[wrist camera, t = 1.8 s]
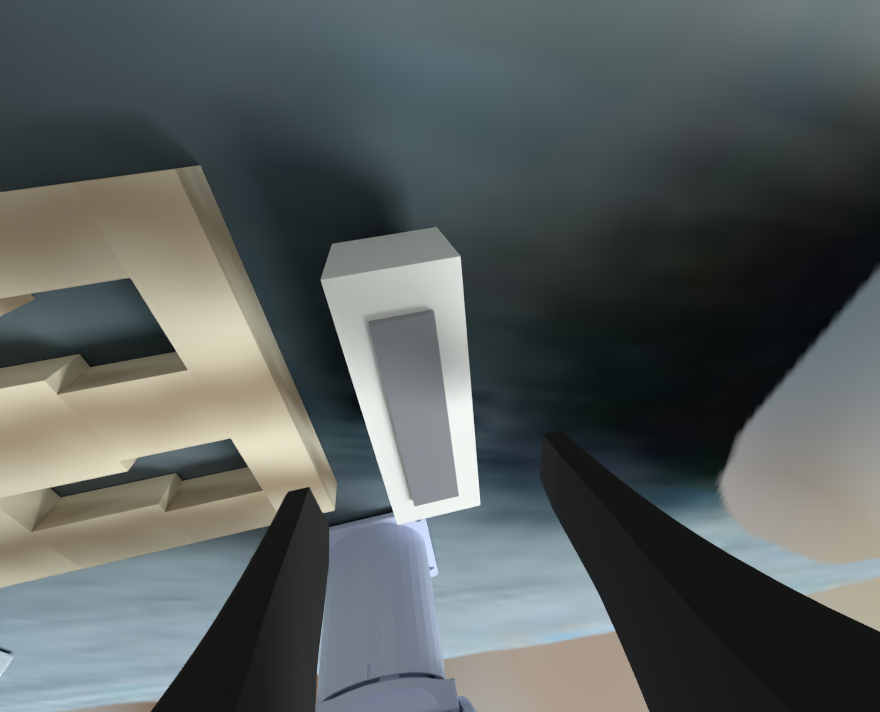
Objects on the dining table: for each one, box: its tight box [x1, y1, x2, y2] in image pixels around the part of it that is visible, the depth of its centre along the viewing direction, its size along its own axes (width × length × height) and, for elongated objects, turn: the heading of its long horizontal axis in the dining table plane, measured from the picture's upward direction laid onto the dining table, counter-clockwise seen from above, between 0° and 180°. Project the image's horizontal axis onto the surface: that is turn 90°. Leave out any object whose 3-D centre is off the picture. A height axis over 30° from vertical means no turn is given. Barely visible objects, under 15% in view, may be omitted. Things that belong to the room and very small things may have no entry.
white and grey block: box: [321, 227, 480, 525], centre depth 15 cm, size 12×4×6 cm, turn 7°
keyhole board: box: [0, 165, 337, 588], centre depth 16 cm, size 18×20×2 cm
